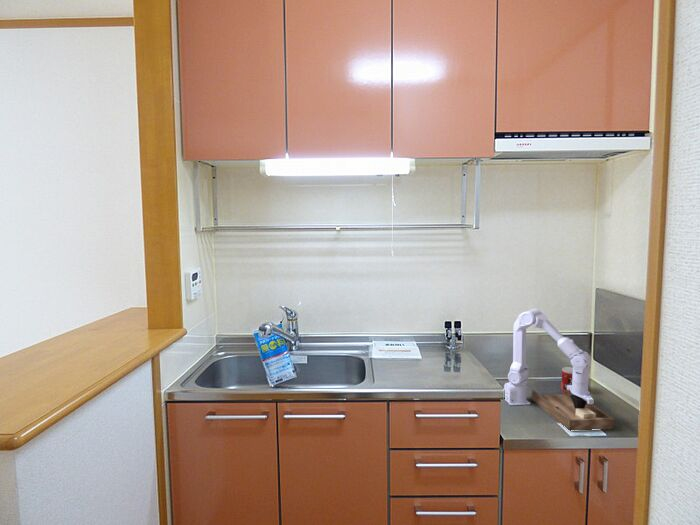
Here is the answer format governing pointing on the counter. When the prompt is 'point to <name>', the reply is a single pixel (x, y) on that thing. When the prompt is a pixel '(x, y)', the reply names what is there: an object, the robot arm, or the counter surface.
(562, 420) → the trough
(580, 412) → the block
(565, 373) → the canned food
